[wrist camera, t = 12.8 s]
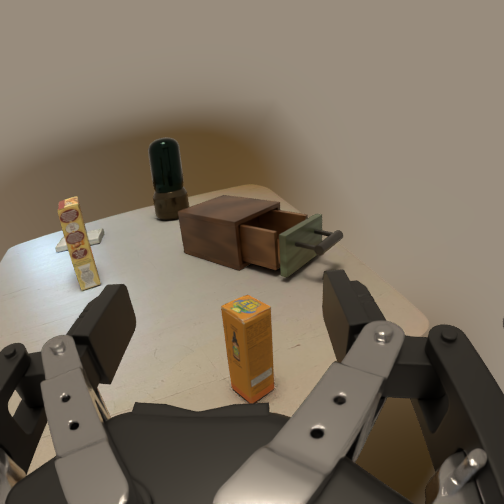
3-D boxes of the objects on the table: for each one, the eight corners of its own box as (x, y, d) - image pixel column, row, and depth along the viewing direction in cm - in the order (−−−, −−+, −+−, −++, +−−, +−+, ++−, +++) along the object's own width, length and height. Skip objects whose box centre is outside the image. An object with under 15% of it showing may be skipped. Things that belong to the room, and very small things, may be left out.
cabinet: (282, 244, 62) (280, 202, 59) (239, 270, 54) (234, 222, 50) (227, 232, 71) (223, 195, 68) (184, 253, 62) (177, 211, 59)
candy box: (101, 285, 52) (80, 202, 46) (80, 292, 50) (56, 209, 44) (96, 267, 59) (78, 195, 53) (77, 273, 57) (58, 201, 51)
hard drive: (103, 227, 79) (62, 236, 76) (98, 237, 72) (54, 246, 69) (104, 233, 79) (64, 241, 77) (99, 243, 72) (56, 253, 69)
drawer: (347, 256, 53) (349, 218, 50) (315, 286, 45) (316, 242, 43) (262, 237, 64) (259, 204, 61) (222, 258, 56) (218, 222, 54)
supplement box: (278, 387, 30) (274, 306, 26) (251, 406, 28) (240, 324, 24) (256, 371, 32) (248, 291, 28) (230, 387, 30) (215, 307, 26)
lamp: (173, 223, 81) (161, 138, 72) (149, 220, 86) (137, 142, 77) (197, 212, 88) (187, 134, 80) (172, 210, 93) (162, 137, 84)
